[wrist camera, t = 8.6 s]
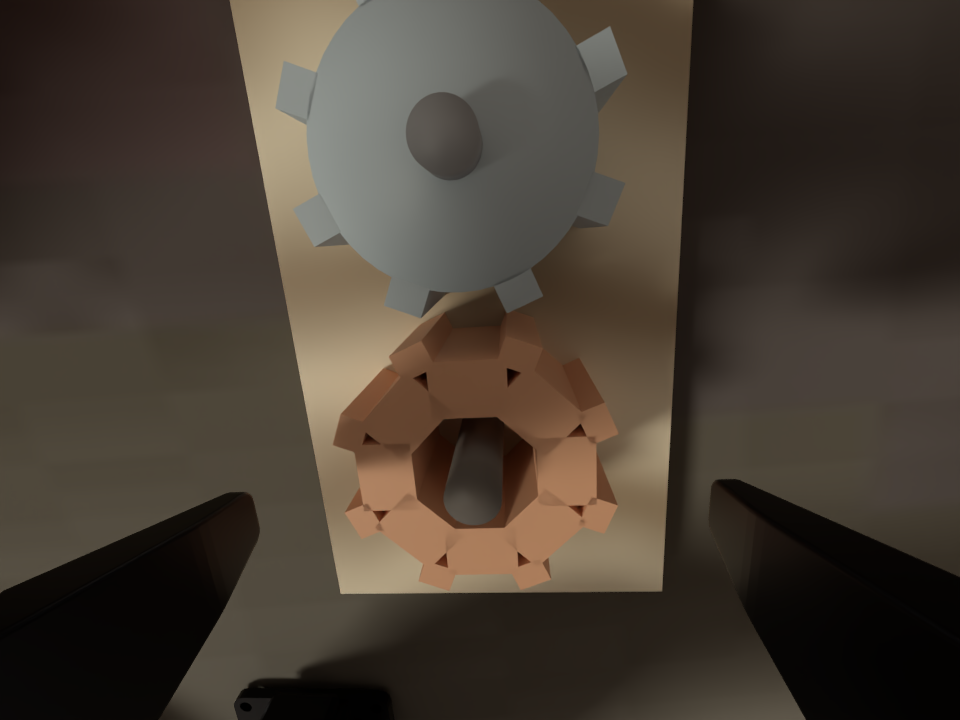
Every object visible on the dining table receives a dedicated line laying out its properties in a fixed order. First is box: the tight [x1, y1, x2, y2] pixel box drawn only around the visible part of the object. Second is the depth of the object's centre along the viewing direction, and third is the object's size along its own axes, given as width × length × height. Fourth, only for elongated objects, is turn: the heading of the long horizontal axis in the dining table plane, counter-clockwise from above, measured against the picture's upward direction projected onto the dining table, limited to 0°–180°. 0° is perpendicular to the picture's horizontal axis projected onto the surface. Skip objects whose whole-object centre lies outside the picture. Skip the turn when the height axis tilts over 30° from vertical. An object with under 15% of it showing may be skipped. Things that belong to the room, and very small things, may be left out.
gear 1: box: [275, 0, 627, 318], centre depth 9 cm, size 6×6×4 cm
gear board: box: [230, 0, 693, 594], centre depth 11 cm, size 20×11×6 cm, turn 4°
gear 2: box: [333, 311, 619, 591], centre depth 12 cm, size 6×6×4 cm
